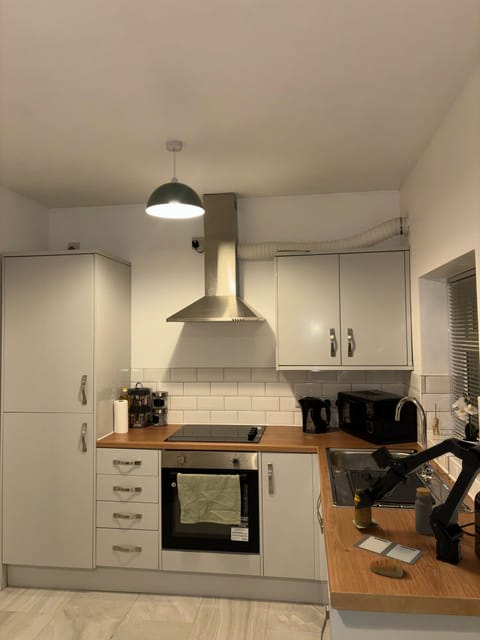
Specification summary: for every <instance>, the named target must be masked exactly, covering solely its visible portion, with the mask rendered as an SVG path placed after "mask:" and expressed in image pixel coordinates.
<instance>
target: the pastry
mask: <svg viewBox="0 0 480 640" xmlns="http://www.w3.org/2000/svg"><path fill="white" fill-rule="evenodd" d="M369 568H370V570H371V572H374V573H375V574H380V575H382V576H386V577H387V576H388V577H393V578H402V577H403V575H404V573H403V568H402V561H401V560H399V559H397V560H396V559H392V558H389V557H385V558H382V559H376V560H372V561H371V562H370V564H369Z"/></svg>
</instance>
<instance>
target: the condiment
mask: <svg viewBox="0 0 480 640" xmlns="http://www.w3.org/2000/svg"><path fill="white" fill-rule="evenodd" d="M362 489H363V488H356V489H355V491H354V494H355V495H354V496H355V497H354V501H353V502H354V503H353V504H354V519H352V520H351V522H352V523H353V525H355V526H356V527H357V528H358V529H364V528H365V529H366V528H376V527H381V525H380V524H379V523H378V522H377V521H376V520H375V519H374V518H373V514H372V507H371V508H361V509H357V507H356V506H357V504H358V503H359V501H360V499H361V498H360V497H359V496H358V494H357V493H358V492H359V491H360V490H362Z"/></svg>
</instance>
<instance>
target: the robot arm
mask: <svg viewBox="0 0 480 640" xmlns="http://www.w3.org/2000/svg"><path fill="white" fill-rule="evenodd" d="M449 453H450V454H452V455H453V456H454V457H456V458H458V459H459V460H461V469H460V473H459V475H458V477H457V478H456V480H455V481H454V484H453V486H452V487H451V490H450V492H449V493H448V495H447V497H446V500H445V501H444V502H443V503H441V504H438V505H436V506H434V507H433V511H432V514H431V515H430V516H429V518H430V520H429V524H430V527H431V529H432V531H433V534H432V535H433V536H434V540H435V554H436V556H435V559H436V560H439V561H442V562H444V563H445V562H446V563H448V564H452V565H455V566H458V565H459V564H460V563H461V562H462V560H463V559H464V556H463V555H462V540H461V539H462V538H463V537H464V535H465V531H464V530H463V528H462V527H461V526H460V524H459V523H458V521H459V511H460V508H461V507H462V505H463V503H464V500H465V499H466V497H467V495H468V494H469V491H470V490H471V487H473V485H474V482H475V481H476V479H477V476H479V475H480V444H476V443H473V442H469V441H466V440H461V439H459V438H456V437H453V436H452V437H448V438H446V439H444V440H443V441H441V442H439V443H436V444H434V445H432V446H430V447H429V448H428V447H427V448H426V449H424V450H422V451H419V452H416V453H412V454H407V455H405V456H397V457H394V456H393V454H392V453H391V452H390V451H389V449H388V447H387V446H386V445H382V446H381V447H379V448H378V449H376V450H374V451H372V453H371V454H370V457H371V459H372V460H373V462H374V464H376V466H377V467H378V468H379V470H383V471H386V472H384V473H382V474H381V475H380V474H379V473H378V472H377V471H376V470H374V469H372V468H371V467H370V466H367V467H364V468H363V469H362V471H360V472H359V477H360V479H362V480H363V481H365V482H367V483H369V484H368V486H369V487H370V489H369V487H364V488H361V489H362V490H360V491H359V492H358V493H357V494H358V496H359V497H360V498H361V499H360V501H359V503H358V504H357V506H356V507H357V509H361V508H371V509H372V507H374V506H375V505H376V504H377V503H378V501H382V500H384V499H386V498H387V497H389V496H391V495H392V494H393V493H394V490H395V489H396V488H397V487H398V486H399V485H400V484H403V486H408V485H409V484H411V475H409V474H412V473H415V472H417V471H418V470H420V469H421V468H422V467H423V466H425V464H427V463H428V462H429V463H430V462H431V461H433V460H435V459H438V458H439V457H442V456H444V455H447V454H449Z"/></svg>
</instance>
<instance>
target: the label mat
mask: <svg viewBox="0 0 480 640" xmlns="http://www.w3.org/2000/svg"><path fill="white" fill-rule="evenodd" d="M352 546H353V547H354V548H355V547H356V548H358V549H362V550H364V551H367V552H371V553H375V554H377V555H381V556H383V557H385V558H392V559H396V560H397V559H399V560H401V563H402V562H403V563H405V564H408V565H411V566H413V565H415V563H416V562H417V561H418V560H419V559H420V557H422V556H423V555H424V553H425V551H424V550H420V549H417V548H413V547H411V546H406V545H403V544H400V543H396V542H394V541H391V540H387V539H384V538H382V537H378V536H374V535H371V534H366V535H365V536H363V537H362V538H361V539H359V540H358V541H357V542H355V543H354V544H353V545H352Z"/></svg>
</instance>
